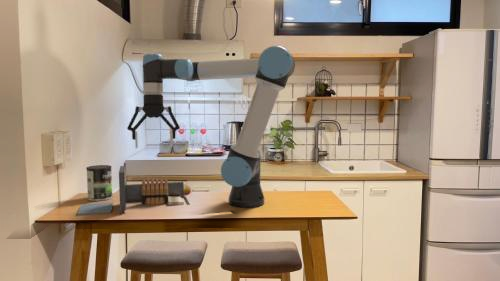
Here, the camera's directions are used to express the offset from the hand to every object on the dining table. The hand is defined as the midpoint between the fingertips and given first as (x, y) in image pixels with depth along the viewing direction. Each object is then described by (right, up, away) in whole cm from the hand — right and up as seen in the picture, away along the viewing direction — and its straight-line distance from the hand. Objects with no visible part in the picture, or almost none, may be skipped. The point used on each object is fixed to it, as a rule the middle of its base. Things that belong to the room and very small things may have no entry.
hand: (154, 147), depth 156 cm
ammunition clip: (0, -24, +2) cm, 24 cm away
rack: (0, -24, +2) cm, 24 cm away
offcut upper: (+7, -23, +4) cm, 24 cm away
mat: (-23, -24, -2) cm, 33 cm away
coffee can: (-28, -23, +16) cm, 40 cm away
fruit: (+6, -23, +20) cm, 31 cm away
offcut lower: (+7, -24, +4) cm, 25 cm away
